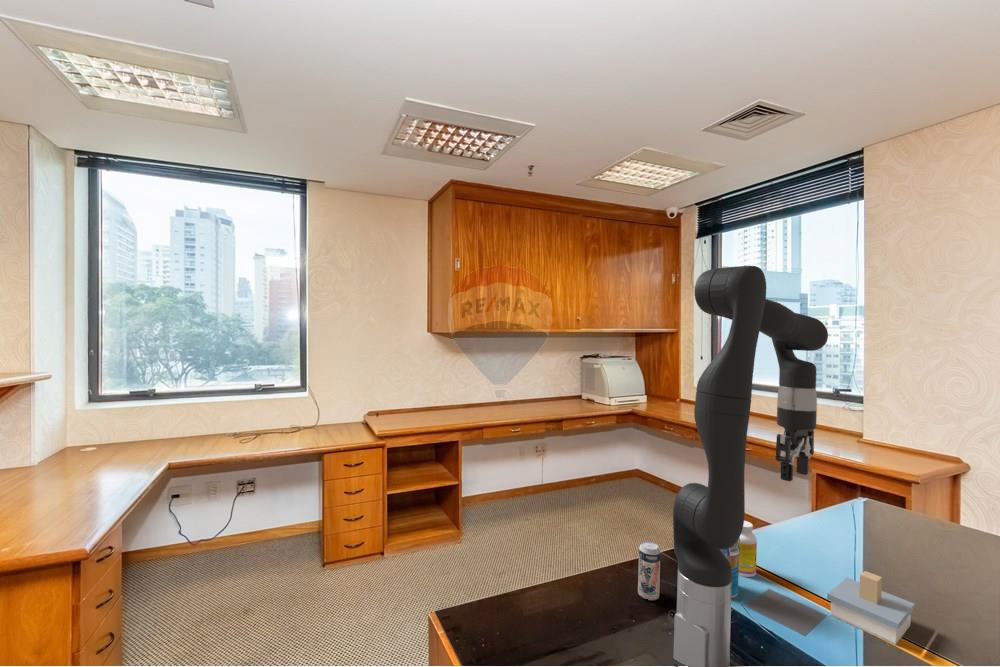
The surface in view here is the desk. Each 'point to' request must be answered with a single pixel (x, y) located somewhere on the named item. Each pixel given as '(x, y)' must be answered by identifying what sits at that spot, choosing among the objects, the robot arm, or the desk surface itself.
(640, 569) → the beer can
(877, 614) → the lid
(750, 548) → the supplement bottle
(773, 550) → the desk surface
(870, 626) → the white rectangular open box
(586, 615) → the desk surface
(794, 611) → the mat
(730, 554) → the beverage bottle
